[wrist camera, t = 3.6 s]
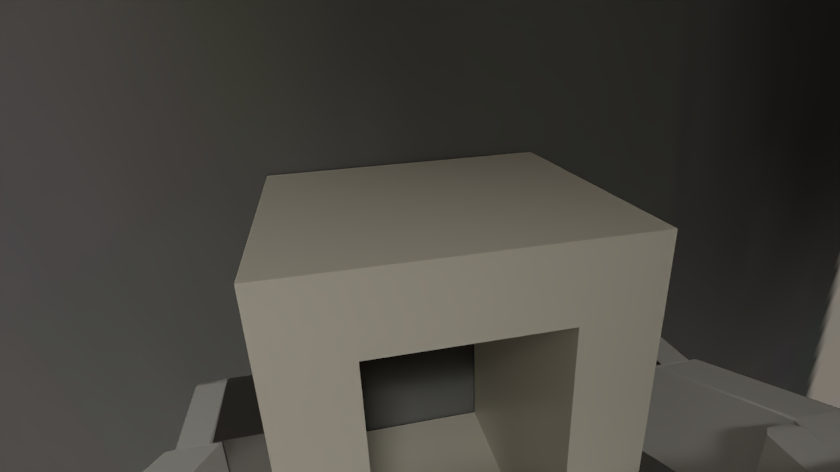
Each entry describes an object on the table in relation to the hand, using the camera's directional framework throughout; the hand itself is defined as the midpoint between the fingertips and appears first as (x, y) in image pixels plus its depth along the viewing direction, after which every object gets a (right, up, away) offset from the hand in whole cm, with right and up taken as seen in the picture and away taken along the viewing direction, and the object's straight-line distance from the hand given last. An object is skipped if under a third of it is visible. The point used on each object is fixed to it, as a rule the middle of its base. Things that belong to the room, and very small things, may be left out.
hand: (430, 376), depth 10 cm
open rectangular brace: (0, +1, +2) cm, 2 cm away
